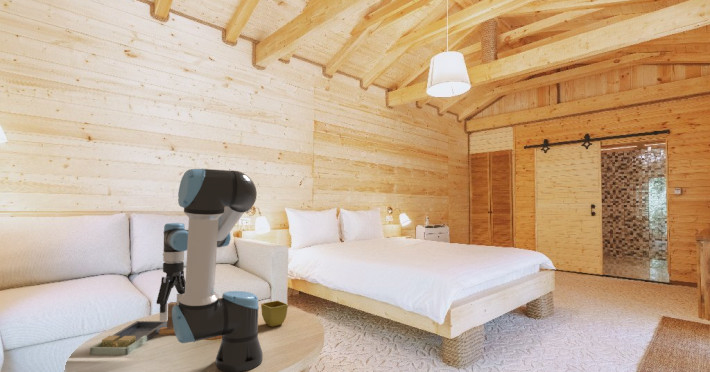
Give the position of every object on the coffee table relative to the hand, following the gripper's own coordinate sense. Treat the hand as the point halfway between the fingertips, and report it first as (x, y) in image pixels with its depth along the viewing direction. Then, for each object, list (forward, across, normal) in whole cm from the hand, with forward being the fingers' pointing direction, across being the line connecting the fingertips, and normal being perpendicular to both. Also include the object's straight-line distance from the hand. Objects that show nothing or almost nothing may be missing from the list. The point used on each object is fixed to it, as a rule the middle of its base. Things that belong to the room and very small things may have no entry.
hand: (172, 315), depth 149 cm
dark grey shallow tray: (+8, 0, -12) cm, 15 cm away
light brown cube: (+8, +14, -9) cm, 19 cm away
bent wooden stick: (+8, 0, 0) cm, 8 cm away
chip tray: (+8, +14, -12) cm, 20 cm away
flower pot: (+8, -14, +38) cm, 41 cm away
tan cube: (+8, +14, -15) cm, 22 cm away
